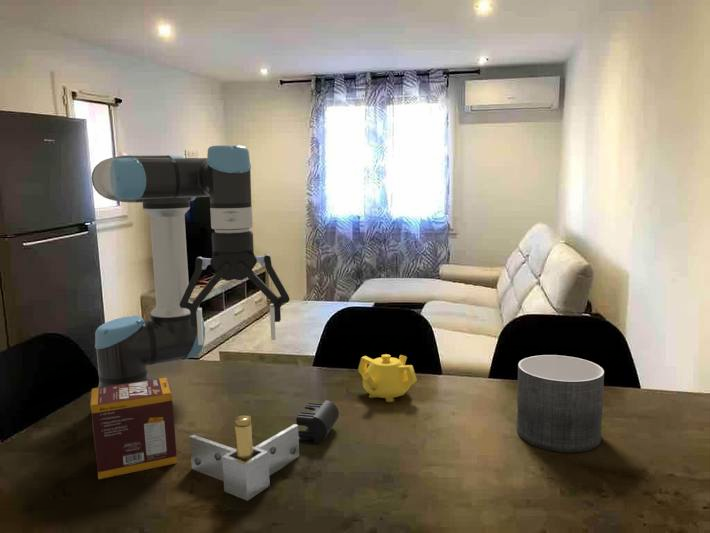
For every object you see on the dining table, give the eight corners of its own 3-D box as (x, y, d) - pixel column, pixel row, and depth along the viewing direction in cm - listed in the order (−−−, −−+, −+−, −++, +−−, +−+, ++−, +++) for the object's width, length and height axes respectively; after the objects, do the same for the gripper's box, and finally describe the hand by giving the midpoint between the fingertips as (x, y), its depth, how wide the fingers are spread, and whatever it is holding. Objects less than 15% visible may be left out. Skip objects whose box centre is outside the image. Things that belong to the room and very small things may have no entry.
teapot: (379, 378, 165) (378, 341, 163) (433, 390, 154) (433, 351, 153) (337, 400, 149) (336, 359, 147) (395, 415, 138) (394, 371, 137)
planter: (613, 432, 126) (616, 365, 124) (582, 462, 114) (585, 388, 111) (537, 412, 139) (539, 350, 136) (502, 436, 126) (503, 369, 123)
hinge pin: (238, 493, 105) (234, 422, 103) (239, 485, 108) (234, 416, 106) (255, 491, 105) (251, 421, 103) (254, 483, 108) (250, 414, 106)
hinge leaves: (181, 474, 112) (179, 441, 111) (246, 439, 127) (244, 409, 126) (247, 500, 103) (245, 464, 101) (308, 459, 117) (307, 427, 116)
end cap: (327, 447, 123) (326, 418, 122) (296, 444, 124) (295, 415, 123) (339, 428, 132) (338, 400, 131) (310, 425, 134) (309, 398, 133)
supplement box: (97, 457, 120) (91, 387, 118) (172, 442, 126) (167, 376, 124) (96, 480, 111) (89, 405, 109) (177, 463, 117) (172, 391, 115)
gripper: (159, 234, 99) (167, 351, 102) (301, 230, 103) (304, 341, 107) (164, 230, 106) (172, 339, 109) (297, 226, 110) (300, 330, 114)
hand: (237, 340), depth 108 cm, fingers open, 13 cm apart
